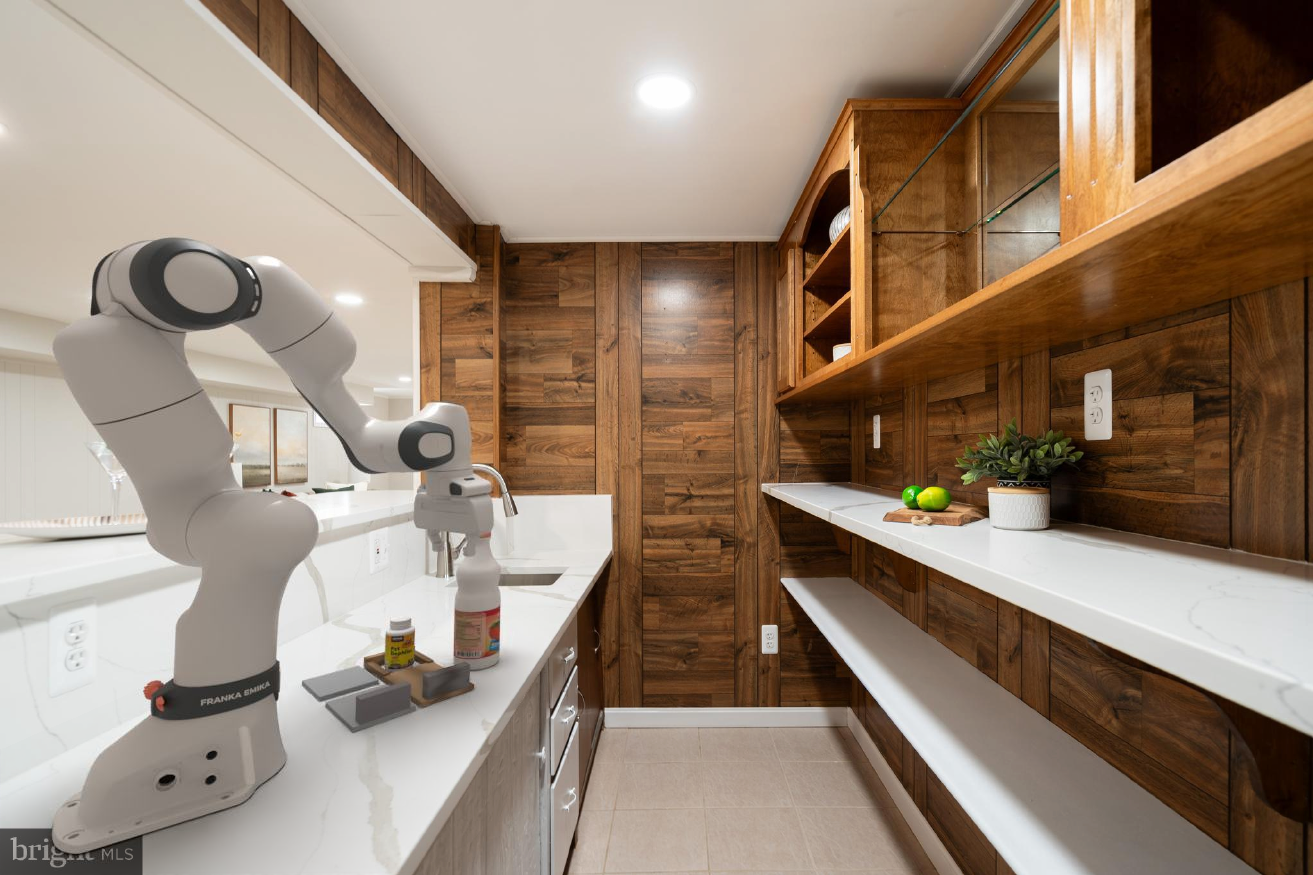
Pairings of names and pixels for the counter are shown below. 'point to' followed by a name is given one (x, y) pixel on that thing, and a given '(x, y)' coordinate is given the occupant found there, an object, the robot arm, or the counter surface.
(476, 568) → the fruit juice
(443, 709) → the counter surface
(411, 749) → the counter surface
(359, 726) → the broken grey strip
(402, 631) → the supplement bottle
